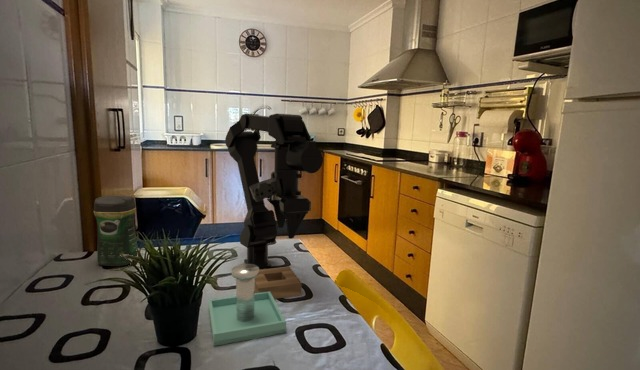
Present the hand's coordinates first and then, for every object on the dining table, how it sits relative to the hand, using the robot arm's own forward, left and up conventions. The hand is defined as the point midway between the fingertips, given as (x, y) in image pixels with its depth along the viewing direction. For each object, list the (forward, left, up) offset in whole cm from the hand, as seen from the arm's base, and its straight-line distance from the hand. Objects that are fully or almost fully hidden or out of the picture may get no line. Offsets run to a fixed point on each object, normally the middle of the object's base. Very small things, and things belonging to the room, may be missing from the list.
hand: (285, 232), depth 84 cm
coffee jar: (-27, -40, -13) cm, 50 cm away
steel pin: (+14, -12, -12) cm, 22 cm away
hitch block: (+2, -3, -13) cm, 13 cm away
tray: (+14, -12, -13) cm, 23 cm away
